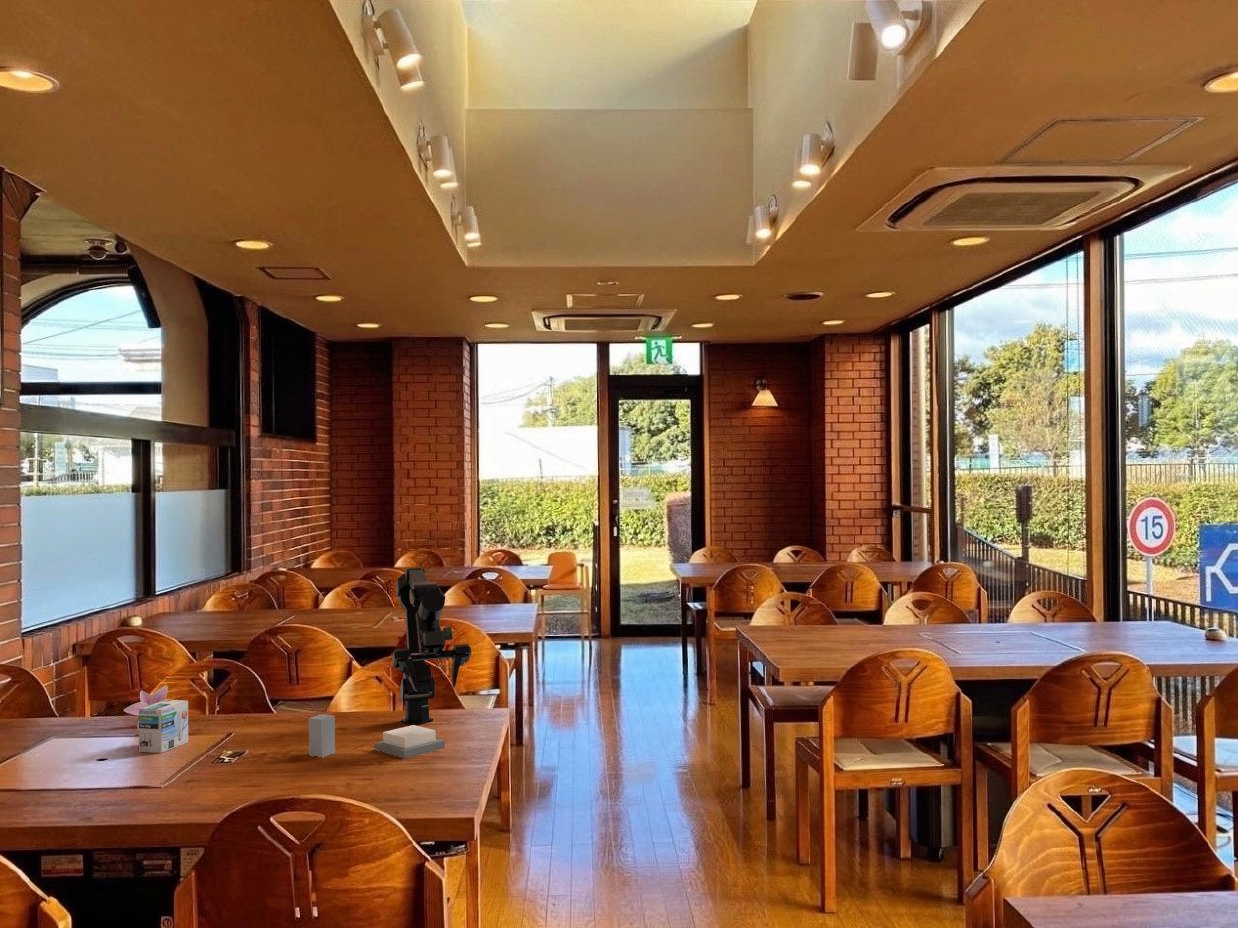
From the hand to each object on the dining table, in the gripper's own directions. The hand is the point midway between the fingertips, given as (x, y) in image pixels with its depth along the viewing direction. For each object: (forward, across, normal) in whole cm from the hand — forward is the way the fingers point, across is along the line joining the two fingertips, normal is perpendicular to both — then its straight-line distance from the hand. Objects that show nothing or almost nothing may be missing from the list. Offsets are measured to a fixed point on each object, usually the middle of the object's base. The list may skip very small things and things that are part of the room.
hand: (435, 688), depth 232 cm
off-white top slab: (+9, -6, +11) cm, 15 cm away
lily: (-18, -68, +57) cm, 91 cm away
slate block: (+8, -26, +15) cm, 31 cm away
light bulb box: (-4, -63, +34) cm, 72 cm away
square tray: (+11, -6, +12) cm, 17 cm away
